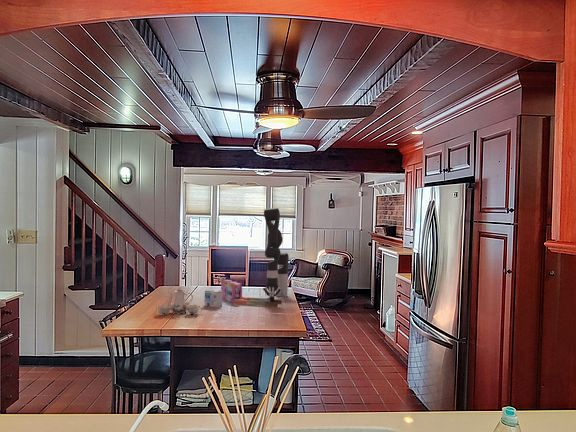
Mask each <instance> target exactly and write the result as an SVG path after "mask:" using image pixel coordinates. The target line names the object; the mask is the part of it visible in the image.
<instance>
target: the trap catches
mask: <svg viewBox="0 0 576 432" xmlns="http://www.w3.org/2000/svg"><path fill="white" fill-rule="evenodd" d="M251 298H252V297H246V296H242V297H240V300H236V299H235V302H234V304H241V306H246V304H247V300H250V301H251Z"/></svg>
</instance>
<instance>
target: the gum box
mask: <svg viewBox="0 0 576 432" xmlns="http://www.w3.org/2000/svg"><path fill="white" fill-rule="evenodd" d="M220 283H221V284H220V286H221V287H220V290H222V291H223V293H222V299H224V300H226V301H228V302H231V303H235V299H236V300H240V297H243V283H242V282H241V281H238V280H235V279H232V278H221V281H220Z"/></svg>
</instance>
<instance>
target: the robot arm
mask: <svg viewBox="0 0 576 432" xmlns="http://www.w3.org/2000/svg"><path fill="white" fill-rule="evenodd" d="M263 215H264V221H265V223H266V226H267V231H268V233H267V244H266V248H265V251H264V257H266V258H267V259H273V260H270V261H267V268H266V269H267V270H266V285H265V287H263V288H262V290H263V291H264V292H265V294H266V296H267V297H270V301H271V302H273V301H274V299H275V297H287V296H288V289H289V287H288V285H289V284H288V283H289V282H288V280H289V278H288V277H289V261H290V258H289V256H290V255H289V253H288V252H281V249H280V247H281V245H282V244H283V242H284V241H283V239H284V238H283V235H282V232H281V230H280V229H279V227H280V226H279V225H280V219H281V214H280V209H279V208H278V207H273V208H266V209H264V211H263ZM273 222H274V223H273ZM278 265H281V267H279V266H278ZM278 267H279V268H278Z"/></svg>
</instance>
